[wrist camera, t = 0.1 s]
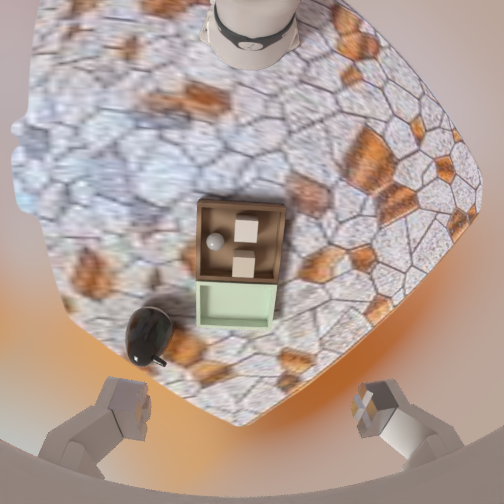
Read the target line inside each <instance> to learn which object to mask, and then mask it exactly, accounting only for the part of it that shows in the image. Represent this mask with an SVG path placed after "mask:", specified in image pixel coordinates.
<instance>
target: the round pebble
mask: <svg viewBox="0 0 504 504" xmlns="http://www.w3.org/2000/svg"><path fill="white" fill-rule="evenodd" d="M206 244H207V246H208V248H209V249H211V250H213V251H217V250H220V249H221V248H222V247H223V246H224V238H223V236H222V235H221V234H219V233H212V234H210V235H209V236H208V237H207V240H206Z"/></svg>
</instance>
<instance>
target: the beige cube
mask: <svg viewBox="0 0 504 504" xmlns="http://www.w3.org/2000/svg"><path fill="white" fill-rule="evenodd" d="M254 265H255V255H254V251H251V250H233V263H232V277H246V278H253V277H254Z"/></svg>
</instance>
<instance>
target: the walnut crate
mask: <svg viewBox="0 0 504 504" xmlns="http://www.w3.org/2000/svg"><path fill="white" fill-rule="evenodd" d="M235 215H249V216H257V219H258V231H257V243H253V242H234V230H235ZM285 216H286V207H285V206H284V204H275V203H261V202H246V201H228V200H209V199H199V201H198V202H197V230H196V279H203V280H222V281H243V282H267V283H278V276H279V268H280V260H281V251H282V243H283V234H284V225H285ZM212 233H219V234H221V235H222V236H223V238H224V246H223V247H222V248H221V249H220V250H217V251H213V250H211V249H209V248H208V246H207V244H206V240H207V237H208V236H209V235H210V234H212ZM233 250H251V251H254V255H255V265H254V277H253V278H246V277H232V263H233Z"/></svg>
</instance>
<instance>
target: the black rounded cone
mask: <svg viewBox="0 0 504 504" xmlns="http://www.w3.org/2000/svg"><path fill="white" fill-rule="evenodd" d="M173 333H174V329H173V325H172V322H171V320H170V318H169V316H168V315H167V314H166V313H165V312H164V311H163V310H161V309H159V308H157V307H153V306H147V307H143V308H141V309H139V310H137V311H135V312H134V313H133V314H132V315H131V317H130V319H129V322H128V325H127V329H126V336H125V344H126V351H127V355H128V357H129V359H130V361H131V362H132V363H133V364H135V365H136V366H139V367H146V366H149V365H151V364H153V363H154V362H155V363H157V364H159V365H161V366H163V367H165V366H166V365H167V363H166V362H165V361H164V360H162V359H161V358H160V357H161V356H162V355H163V354H164V352H165V351H166V349H167V348H168V346H169V344H170V342H171V340H172V337H173Z"/></svg>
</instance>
